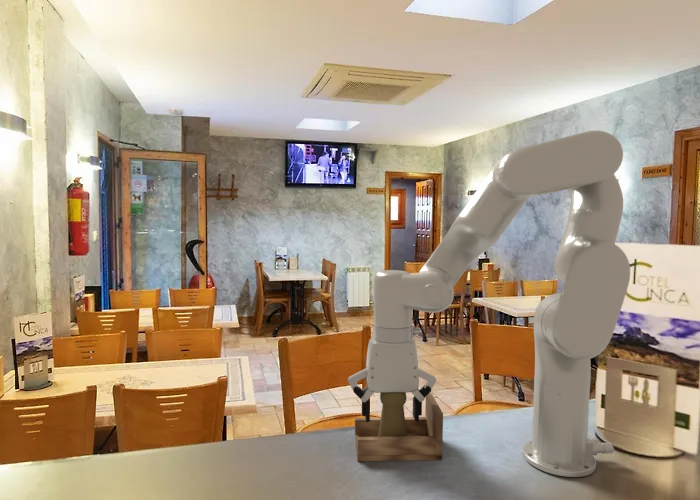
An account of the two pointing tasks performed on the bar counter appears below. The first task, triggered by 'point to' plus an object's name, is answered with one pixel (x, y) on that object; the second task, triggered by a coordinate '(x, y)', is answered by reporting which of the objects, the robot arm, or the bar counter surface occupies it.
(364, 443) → the walnut drawer
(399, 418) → the cork
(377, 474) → the bar counter surface
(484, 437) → the bar counter surface
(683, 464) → the bar counter surface
